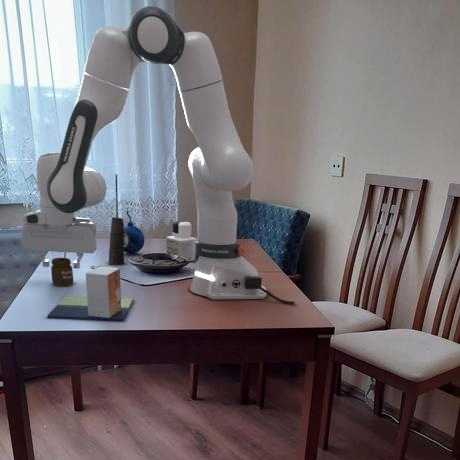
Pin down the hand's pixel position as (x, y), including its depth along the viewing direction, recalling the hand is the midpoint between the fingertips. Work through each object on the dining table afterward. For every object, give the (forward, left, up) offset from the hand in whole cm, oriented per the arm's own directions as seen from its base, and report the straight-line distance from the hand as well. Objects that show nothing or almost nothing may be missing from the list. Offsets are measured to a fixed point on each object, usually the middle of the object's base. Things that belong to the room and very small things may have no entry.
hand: (61, 267), depth 158 cm
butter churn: (-11, -28, -5) cm, 31 cm away
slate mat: (-13, +27, -5) cm, 31 cm away
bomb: (-13, -46, -5) cm, 48 cm away
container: (-32, -40, -5) cm, 52 cm away
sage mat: (-13, +18, -5) cm, 23 cm away
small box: (-17, +27, -4) cm, 33 cm away
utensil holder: (0, 0, -5) cm, 5 cm away
